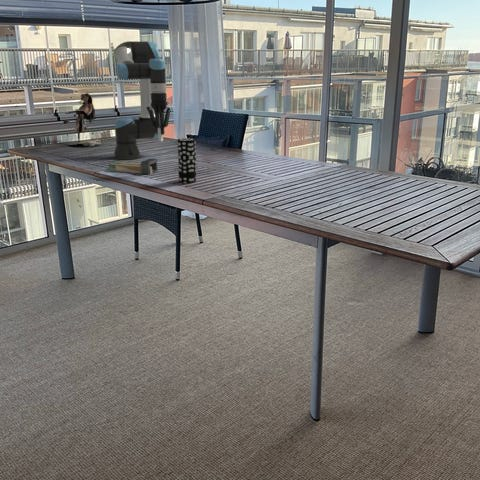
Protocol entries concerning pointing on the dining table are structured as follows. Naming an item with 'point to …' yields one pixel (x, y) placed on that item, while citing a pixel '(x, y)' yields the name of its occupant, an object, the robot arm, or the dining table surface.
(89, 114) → the figurine
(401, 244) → the dining table surface
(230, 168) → the dining table surface
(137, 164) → the tongs jaw
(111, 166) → the bar
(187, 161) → the white-spotted black cylinder
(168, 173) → the dining table surface
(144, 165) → the collar
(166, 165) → the dining table surface
